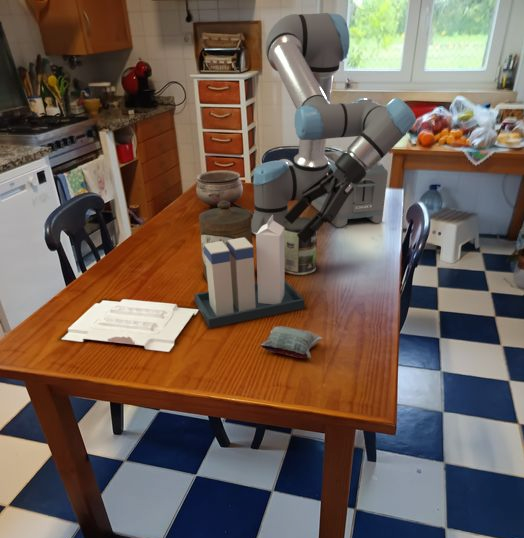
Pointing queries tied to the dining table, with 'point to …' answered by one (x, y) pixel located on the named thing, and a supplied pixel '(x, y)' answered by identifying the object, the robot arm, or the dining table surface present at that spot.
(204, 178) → the cooking pot
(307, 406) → the dining table surface
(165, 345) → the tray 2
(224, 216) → the wooden container
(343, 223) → the toaster
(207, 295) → the tray
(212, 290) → the carton
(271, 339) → the packaged food
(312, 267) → the coffee can
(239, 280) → the carton
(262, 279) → the milk
